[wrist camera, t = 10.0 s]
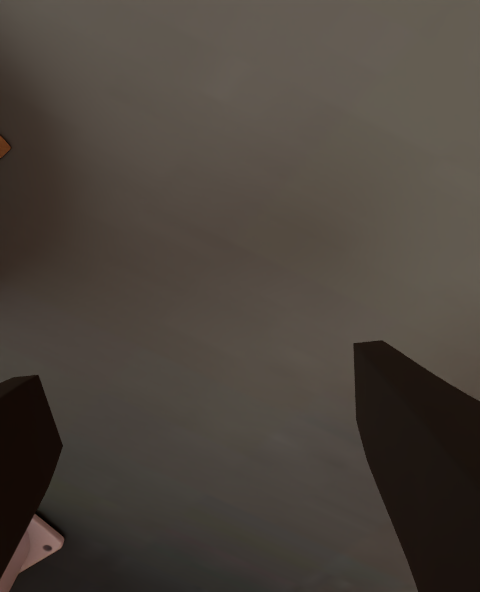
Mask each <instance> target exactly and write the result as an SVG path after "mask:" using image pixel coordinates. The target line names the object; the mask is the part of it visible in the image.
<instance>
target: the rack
mask: <svg viewBox="0 0 480 592" xmlns="http://www.w3.org/2000/svg"><path fill="white" fill-rule="evenodd" d="M10 148H11V147H10V146H9V145H8V143H7V142H6V141H5V140H4V139H3V138H2V137H1V136H0V158H1V157H2V156H4V155H5V154H6V153H7V152H8V151H9V150H10Z"/></svg>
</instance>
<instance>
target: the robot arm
mask: <svg viewBox="0 0 480 592" xmlns="http://www.w3.org/2000/svg"><path fill="white" fill-rule="evenodd" d="M354 370H355V397H356V421H357V424H358V428H359V432H360V436H361V440H362V444H363V447H364V451H365V455H366V458H367V461H368V464H369V467H370V469H371V472H372V474H373V477H374V479H375V482H376V484H377V487H378V489H379V492H380V494H381V497H382V499H383V502H384V504H385V506H386V509H387V511H388V514H389V516H390V519H391V521H392V524H393V526H394V529H395V531H396V534H397V536H398V538H399V541H400V543H401V546H402V548H403V551H404V553H405V556H406V558H407V561H408V564H409V566H410V569H411V572H412V575H413V577H414V580H415V583H416V586H417V589H418V592H480V401H478V400H476V399H474V398H473V397H471V396H469V395H467V394H465V393H464V392H462V391H460V390H459V389H457V388H455V387H453V386H452V385H450V384H448V383H447V382H445V381H444V380H442V379H440V378H439V377H437V376H436V375H434V374H432V373H431V372H429V371H428V370H426V369H425V368H423V367H422V366H420V365H419V364H417V363H416V362H414V361H413V360H411V359H410V358H408V357H407V356H405V355H404V354H402V353H401V352H399V351H398V350H396V349H395V348H393V347H392V346H390V345H389V344H387V343H385V342H384V341H372V342H362V343H354ZM62 447H63V445H62V442H61V439H60V436H59V433H58V430H57V428H56V425H55V422H54V419H53V416H52V413H51V410H50V407H49V404H48V401H47V398H46V396H45V393H44V390H43V387H42V384H41V381H40V378H39V375H33V376H23V377H13V378H11V379H9V380H6V381H4V382H2V383H0V592H9V591H10V589H11V587H12V585H13V583H14V581H15V579H16V577H17V575H18V574H19V573H20V572H22V571H24V570H25V569H27V568H29V567H30V566H32V565H34V564H35V563H37V562H39V561H40V560H42V559H44V558H45V557H47V556H49V555H50V554H52V553H54V552H55V551H57V550H59V549H60V548H61V547H62V545H63V543H64V538H63V537H62V535H60V534H59V533H58V532H57V531H55V530H54V529H53V528H52V527H51V526H49V525H48V524H47V523H46V522H44V521H43V520H42V519H41V518H40V517H38V516H37V515H36V514H35V512H36V510H37V508H38V507H39V505H40V503H41V501H42V499H43V497H44V495H45V493H46V491H47V489H48V487H49V484H50V481H51V479H52V476H53V473H54V471H55V468H56V465H57V462H58V459H59V456H60V453H61V450H62Z"/></svg>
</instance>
